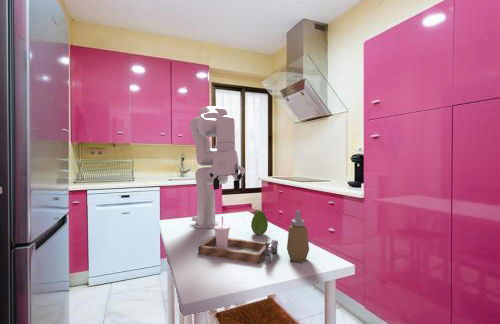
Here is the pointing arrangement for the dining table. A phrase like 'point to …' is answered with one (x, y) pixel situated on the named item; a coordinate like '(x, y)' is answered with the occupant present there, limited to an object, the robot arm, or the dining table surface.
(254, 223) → the avocado
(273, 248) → the grey metal handle
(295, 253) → the squeeze bottle
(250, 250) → the bay
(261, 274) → the dining table surface
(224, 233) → the smoothie
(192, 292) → the dining table surface
